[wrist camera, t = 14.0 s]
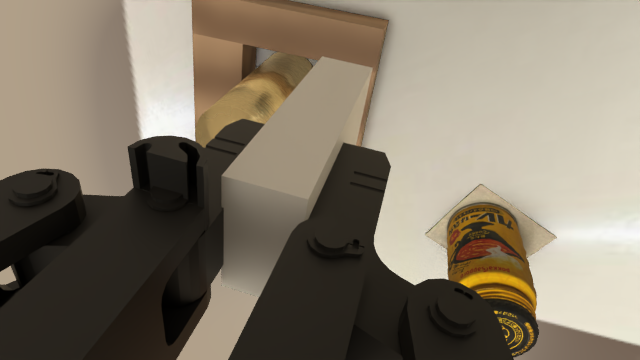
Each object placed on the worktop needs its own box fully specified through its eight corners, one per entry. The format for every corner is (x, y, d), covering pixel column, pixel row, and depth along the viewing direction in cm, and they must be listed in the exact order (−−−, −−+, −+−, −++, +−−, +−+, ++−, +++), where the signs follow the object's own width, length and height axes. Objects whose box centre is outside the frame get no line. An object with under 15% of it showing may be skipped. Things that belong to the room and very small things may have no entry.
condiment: (480, 182, 36) (495, 283, 26) (556, 236, 37) (598, 352, 27) (424, 233, 40) (420, 337, 30) (494, 280, 41) (512, 395, 31)
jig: (210, -16, 33) (169, -3, 28) (388, 20, 31) (379, 40, 26) (211, 152, 41) (179, 184, 36) (352, 187, 39) (339, 226, 34)
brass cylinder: (265, 44, 34) (194, 98, 24) (319, 56, 34) (270, 116, 24) (261, 98, 37) (196, 165, 27) (312, 109, 36) (264, 183, 26)
